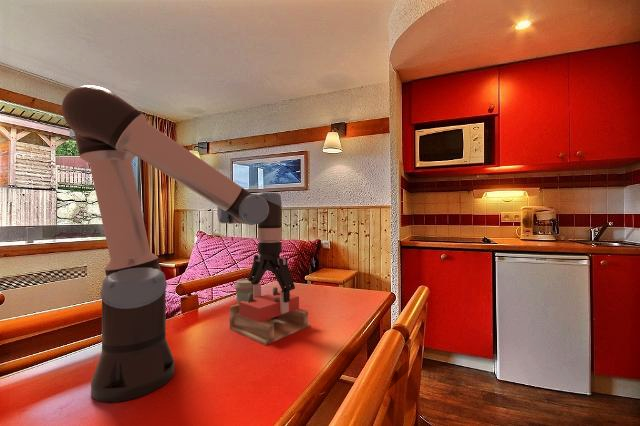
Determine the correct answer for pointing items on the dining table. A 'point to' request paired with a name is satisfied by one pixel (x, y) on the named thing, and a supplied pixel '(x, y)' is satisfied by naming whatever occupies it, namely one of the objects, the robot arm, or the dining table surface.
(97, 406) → the dining table surface
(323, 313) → the dining table surface
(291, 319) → the carcass
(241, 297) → the coffee cup
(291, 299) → the red rectangular block
